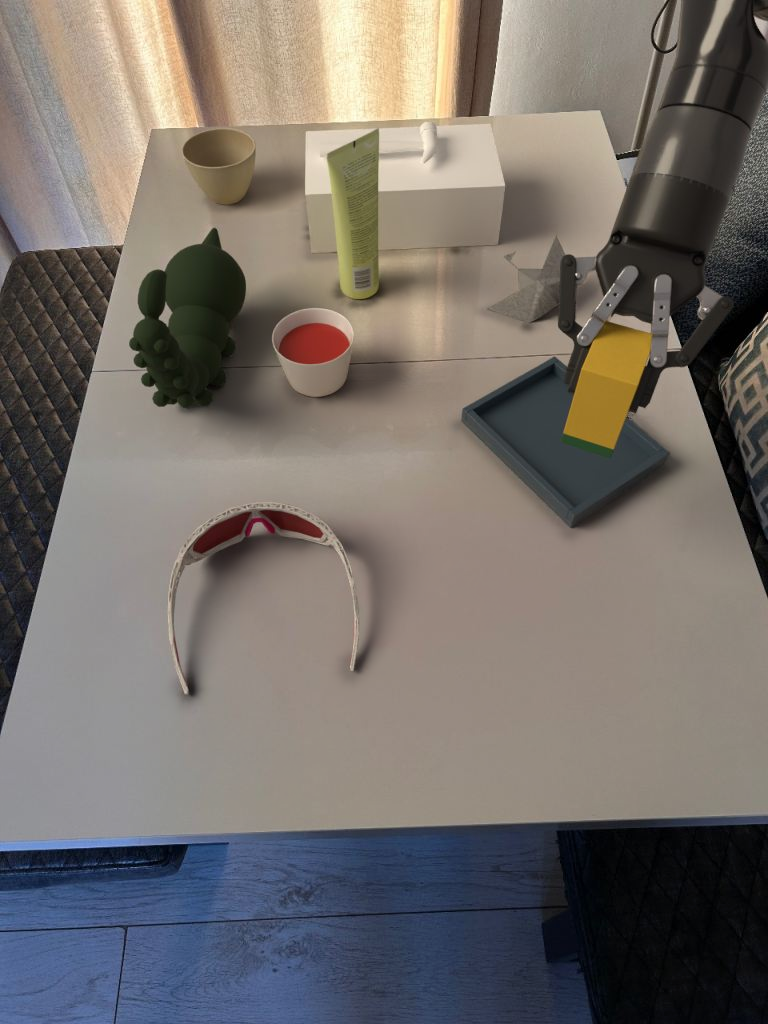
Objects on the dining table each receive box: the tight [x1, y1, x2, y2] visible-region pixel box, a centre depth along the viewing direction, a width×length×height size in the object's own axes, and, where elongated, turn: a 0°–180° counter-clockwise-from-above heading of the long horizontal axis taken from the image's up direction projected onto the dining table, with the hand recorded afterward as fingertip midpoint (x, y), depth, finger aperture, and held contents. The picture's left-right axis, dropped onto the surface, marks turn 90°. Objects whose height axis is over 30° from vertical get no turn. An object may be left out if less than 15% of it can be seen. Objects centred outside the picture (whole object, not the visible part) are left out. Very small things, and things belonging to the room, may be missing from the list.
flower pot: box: [181, 127, 257, 206], centre depth 107 cm, size 10×10×7 cm
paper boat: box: [487, 234, 566, 324], centre depth 94 cm, size 12×6×9 cm
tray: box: [460, 356, 671, 529], centre depth 82 cm, size 18×14×2 cm
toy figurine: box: [128, 227, 247, 409], centre depth 84 cm, size 9×19×25 cm
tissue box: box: [304, 121, 506, 254], centre depth 102 cm, size 14×25×11 cm, turn 93°
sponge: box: [561, 321, 651, 458], centre depth 64 cm, size 4×6×9 cm
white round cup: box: [271, 307, 355, 398], centre depth 87 cm, size 9×9×6 cm
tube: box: [327, 127, 380, 300], centre depth 90 cm, size 6×5×20 cm
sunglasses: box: [167, 501, 360, 695], centre depth 72 cm, size 17×17×5 cm
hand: (602, 401), depth 62 cm, fingers closed on sponge, 4 cm apart
